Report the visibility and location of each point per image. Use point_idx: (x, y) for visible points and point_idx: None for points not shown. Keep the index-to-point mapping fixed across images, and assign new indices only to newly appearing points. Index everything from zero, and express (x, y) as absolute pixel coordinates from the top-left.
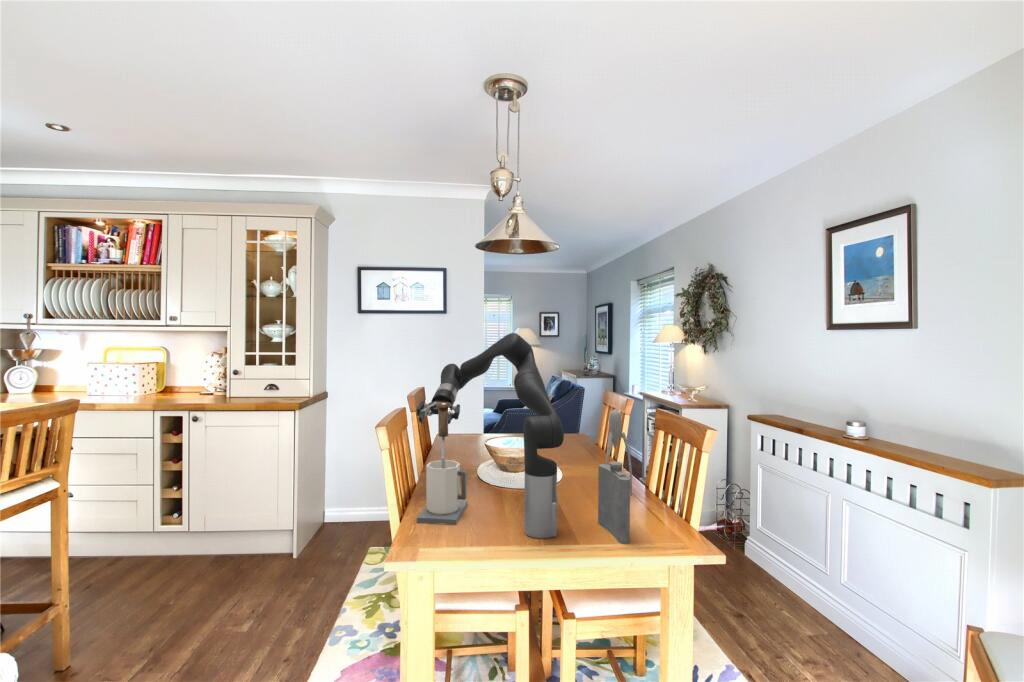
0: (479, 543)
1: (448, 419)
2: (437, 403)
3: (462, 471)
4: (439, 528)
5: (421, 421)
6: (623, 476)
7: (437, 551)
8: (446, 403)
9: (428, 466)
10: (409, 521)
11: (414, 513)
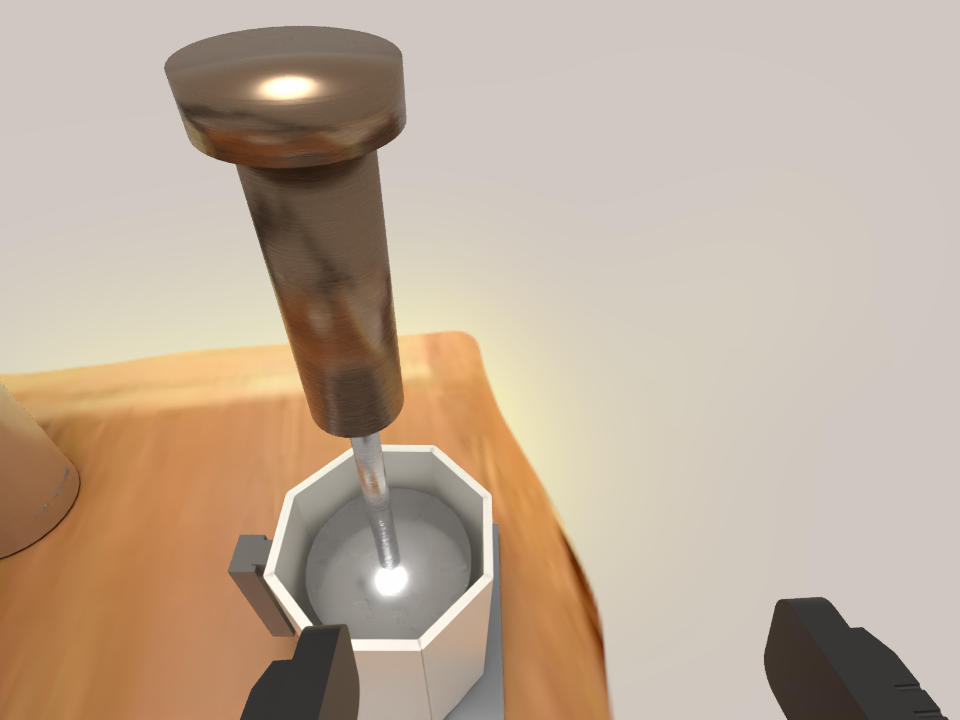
0: (257, 412)
1: (284, 683)
2: (374, 40)
3: (257, 545)
4: None
5: (772, 642)
6: None
7: None
8: (237, 43)
9: (472, 478)
10: (529, 542)
11: (544, 633)
